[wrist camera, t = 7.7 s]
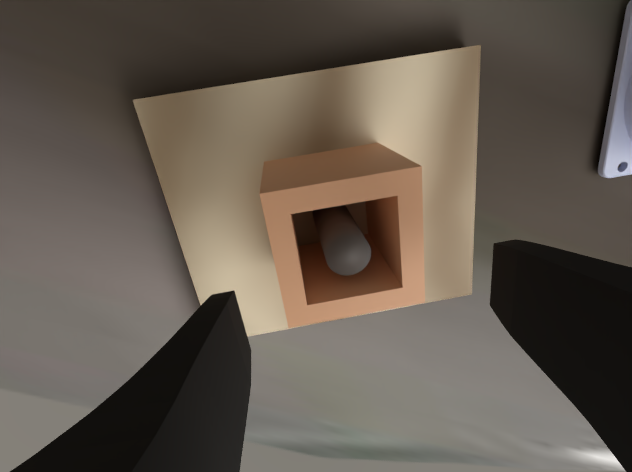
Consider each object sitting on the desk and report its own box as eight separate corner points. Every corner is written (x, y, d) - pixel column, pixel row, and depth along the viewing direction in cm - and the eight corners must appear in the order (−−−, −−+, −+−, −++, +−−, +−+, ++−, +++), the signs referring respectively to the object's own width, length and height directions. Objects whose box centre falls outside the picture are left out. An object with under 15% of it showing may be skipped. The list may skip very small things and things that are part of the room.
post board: (466, 47, 15) (564, 27, 10) (460, 282, 20) (526, 351, 15) (143, 98, 15) (71, 105, 10) (216, 328, 20) (195, 416, 14)
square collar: (377, 142, 15) (421, 166, 11) (385, 245, 17) (425, 302, 13) (263, 161, 15) (259, 194, 11) (284, 263, 17) (288, 328, 13)
